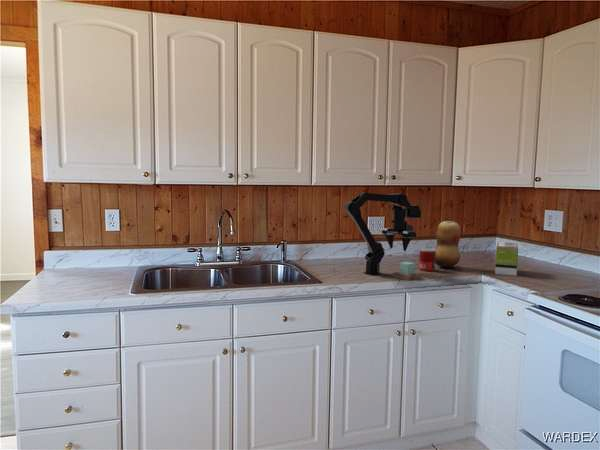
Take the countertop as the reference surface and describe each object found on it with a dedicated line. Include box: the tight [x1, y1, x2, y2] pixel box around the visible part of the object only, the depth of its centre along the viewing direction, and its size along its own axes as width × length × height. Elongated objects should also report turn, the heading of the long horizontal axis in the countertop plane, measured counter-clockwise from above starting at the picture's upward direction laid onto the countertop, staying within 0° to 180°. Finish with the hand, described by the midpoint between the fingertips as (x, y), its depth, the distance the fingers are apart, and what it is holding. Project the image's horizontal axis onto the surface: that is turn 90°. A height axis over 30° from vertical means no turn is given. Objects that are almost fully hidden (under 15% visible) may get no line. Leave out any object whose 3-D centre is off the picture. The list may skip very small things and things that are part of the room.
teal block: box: [398, 261, 416, 275], centre depth 199 cm, size 5×5×5 cm
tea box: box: [494, 241, 519, 277], centre depth 212 cm, size 15×10×15 cm, turn 154°
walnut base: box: [392, 271, 421, 281], centre depth 199 cm, size 9×9×2 cm
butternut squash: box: [434, 220, 461, 269], centre depth 221 cm, size 14×13×25 cm
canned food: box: [418, 247, 436, 273], centre depth 215 cm, size 8×8×11 cm
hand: (398, 249), depth 207 cm, fingers open, 9 cm apart
